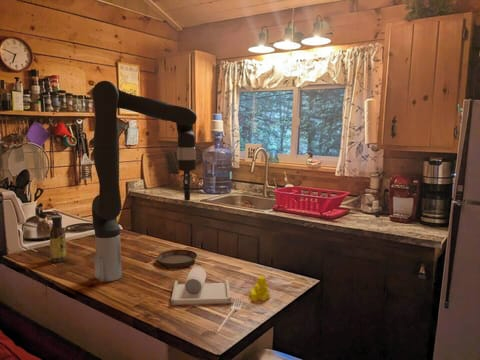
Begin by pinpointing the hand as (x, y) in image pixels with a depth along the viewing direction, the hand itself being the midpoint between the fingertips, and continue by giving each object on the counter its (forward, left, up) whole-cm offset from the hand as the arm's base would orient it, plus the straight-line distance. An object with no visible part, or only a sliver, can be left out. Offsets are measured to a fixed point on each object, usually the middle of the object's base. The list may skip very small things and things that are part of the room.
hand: (187, 200), depth 159 cm
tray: (-10, -25, -29) cm, 40 cm away
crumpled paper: (+4, -40, -29) cm, 50 cm away
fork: (-12, -44, -30) cm, 55 cm away
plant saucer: (0, +9, -30) cm, 31 cm away
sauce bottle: (-40, +43, -29) cm, 66 cm away
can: (-6, -16, -26) cm, 31 cm away
